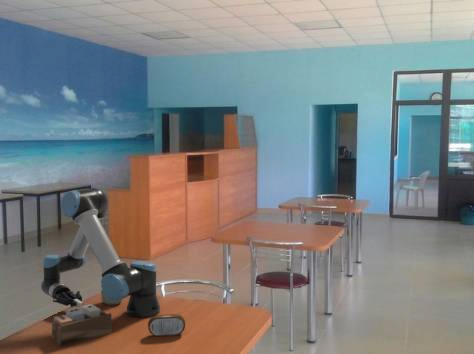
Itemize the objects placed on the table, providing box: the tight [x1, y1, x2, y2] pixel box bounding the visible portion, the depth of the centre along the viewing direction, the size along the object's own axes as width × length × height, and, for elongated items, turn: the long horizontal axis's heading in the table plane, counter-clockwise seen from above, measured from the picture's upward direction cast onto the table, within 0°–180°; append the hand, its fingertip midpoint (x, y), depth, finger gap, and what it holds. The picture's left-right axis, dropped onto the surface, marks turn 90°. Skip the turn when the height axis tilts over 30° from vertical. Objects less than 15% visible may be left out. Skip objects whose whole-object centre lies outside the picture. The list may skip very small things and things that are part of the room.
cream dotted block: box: [81, 303, 101, 318], centre depth 218 cm, size 8×4×6 cm, turn 41°
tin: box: [147, 313, 186, 337], centre depth 210 cm, size 15×3×8 cm, turn 100°
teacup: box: [99, 287, 124, 306], centre depth 250 cm, size 14×11×8 cm
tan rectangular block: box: [53, 314, 73, 326], centre depth 205 cm, size 8×4×6 cm, turn 41°
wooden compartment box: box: [51, 309, 113, 347], centre depth 208 cm, size 10×21×8 cm, turn 131°
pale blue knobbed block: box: [65, 307, 84, 322], centre depth 213 cm, size 8×4×6 cm, turn 41°
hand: (81, 305), depth 225 cm, fingers closed
